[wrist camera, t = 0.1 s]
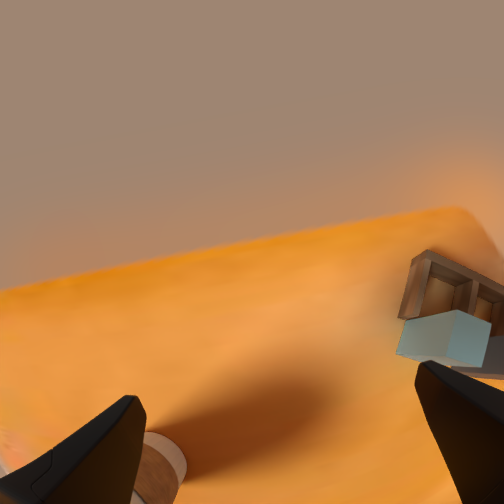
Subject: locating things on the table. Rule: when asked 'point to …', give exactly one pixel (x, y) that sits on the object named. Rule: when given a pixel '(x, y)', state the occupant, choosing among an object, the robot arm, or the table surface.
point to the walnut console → (465, 291)
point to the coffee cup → (158, 471)
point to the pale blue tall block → (446, 339)
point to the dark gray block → (488, 361)
